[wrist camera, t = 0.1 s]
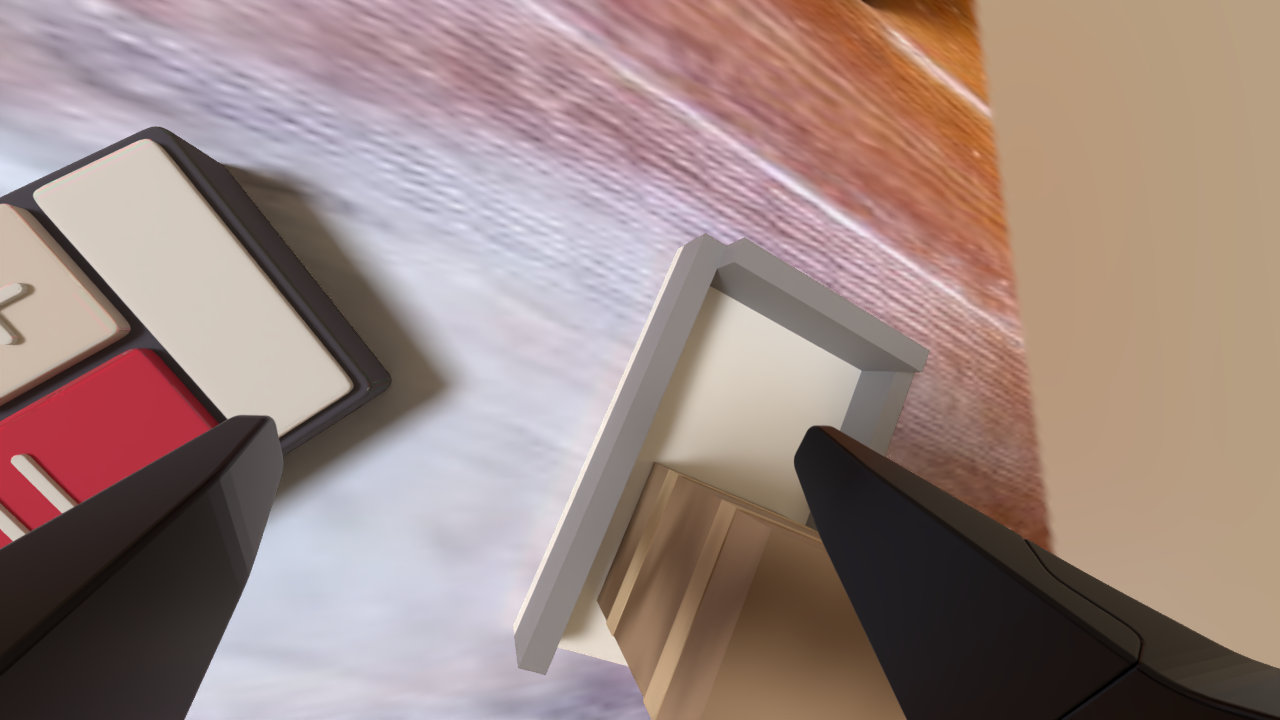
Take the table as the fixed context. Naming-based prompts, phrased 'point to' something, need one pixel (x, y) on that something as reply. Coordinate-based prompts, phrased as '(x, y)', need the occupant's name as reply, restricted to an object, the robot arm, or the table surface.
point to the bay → (715, 417)
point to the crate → (736, 613)
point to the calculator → (152, 325)
